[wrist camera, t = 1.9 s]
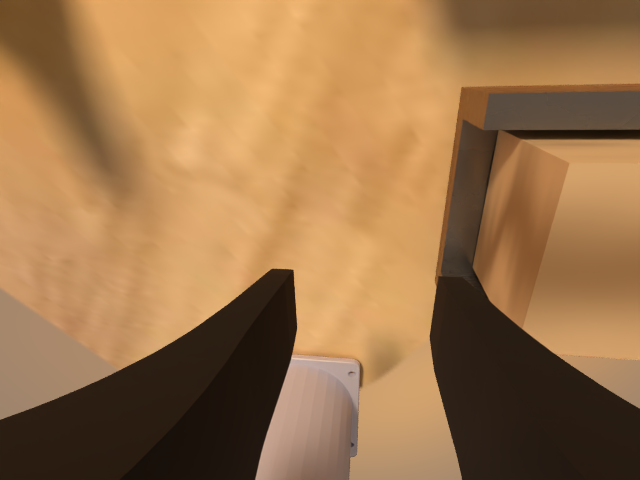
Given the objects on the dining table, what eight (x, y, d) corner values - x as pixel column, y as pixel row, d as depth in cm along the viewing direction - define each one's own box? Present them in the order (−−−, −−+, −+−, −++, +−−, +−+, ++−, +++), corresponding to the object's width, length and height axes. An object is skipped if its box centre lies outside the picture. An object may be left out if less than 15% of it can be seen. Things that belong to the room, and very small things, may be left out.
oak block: (600, 272, 17) (704, 364, 12) (472, 267, 18) (515, 351, 13) (655, 128, 14) (823, 164, 9) (498, 128, 15) (569, 163, 10)
